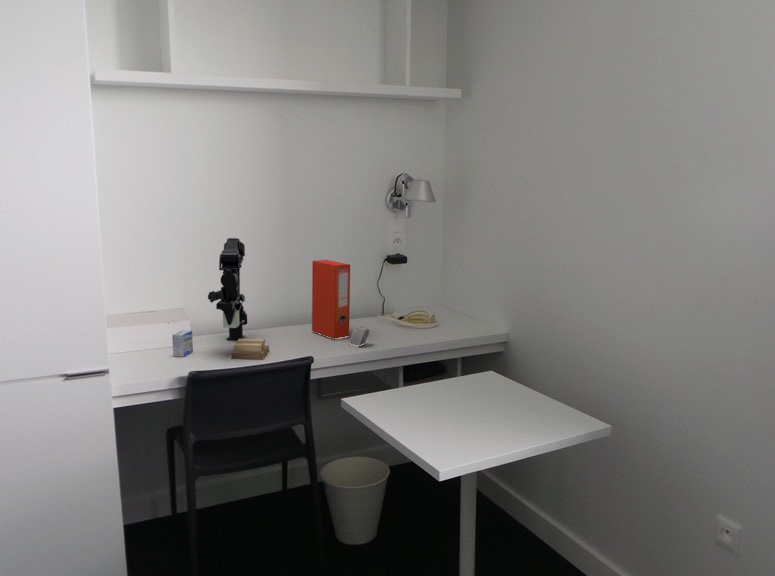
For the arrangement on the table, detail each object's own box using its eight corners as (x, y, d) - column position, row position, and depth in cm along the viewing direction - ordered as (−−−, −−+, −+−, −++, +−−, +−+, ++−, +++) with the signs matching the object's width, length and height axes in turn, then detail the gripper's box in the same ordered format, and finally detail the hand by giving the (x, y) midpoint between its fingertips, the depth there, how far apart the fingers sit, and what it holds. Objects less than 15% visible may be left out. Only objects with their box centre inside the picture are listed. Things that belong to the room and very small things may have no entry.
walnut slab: (238, 352, 273) (238, 345, 272) (269, 353, 272) (268, 345, 272) (231, 360, 261) (230, 353, 260) (262, 361, 260) (262, 354, 260)
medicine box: (183, 357, 262) (182, 335, 261) (172, 356, 263) (171, 334, 261) (193, 351, 270) (192, 330, 268) (182, 351, 271) (182, 329, 269)
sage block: (226, 324, 270) (226, 309, 269) (239, 325, 270) (239, 310, 269) (223, 327, 265) (222, 312, 264) (235, 328, 265) (235, 312, 264)
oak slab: (239, 345, 271) (239, 338, 270) (264, 346, 271) (264, 338, 270) (233, 352, 261) (233, 345, 260) (260, 353, 261) (260, 345, 261)
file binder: (327, 330, 309) (327, 259, 304) (349, 337, 296) (350, 264, 290) (311, 332, 304) (311, 260, 299) (334, 340, 291) (334, 265, 285)
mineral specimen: (365, 347, 278) (361, 328, 277) (348, 348, 283) (344, 329, 282) (375, 343, 284) (371, 324, 283) (358, 344, 289) (354, 325, 288)
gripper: (217, 279, 275) (218, 317, 277) (202, 287, 256) (203, 328, 259) (244, 280, 274) (245, 318, 277) (231, 287, 256) (232, 328, 258)
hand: (231, 323), depth 268 cm, fingers closed on sage block, 5 cm apart
